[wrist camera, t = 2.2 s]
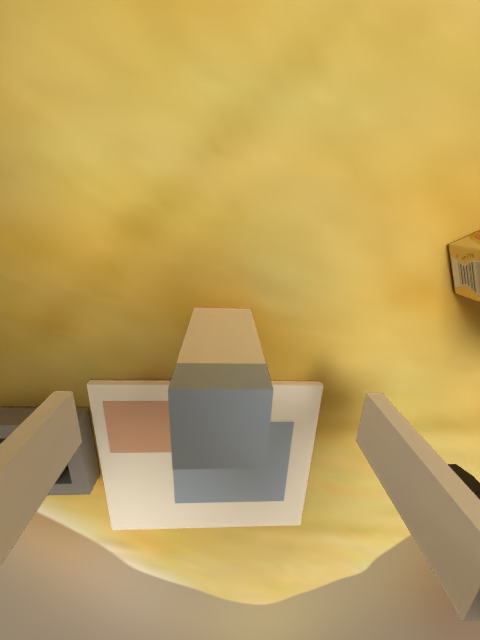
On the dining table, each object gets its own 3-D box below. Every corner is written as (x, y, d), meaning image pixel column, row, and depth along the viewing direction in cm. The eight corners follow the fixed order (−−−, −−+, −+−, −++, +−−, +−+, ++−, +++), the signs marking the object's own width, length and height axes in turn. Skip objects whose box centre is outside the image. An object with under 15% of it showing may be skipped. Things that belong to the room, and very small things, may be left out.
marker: (194, 307, 20) (167, 389, 10) (250, 308, 20) (273, 389, 11) (195, 357, 21) (172, 469, 12) (247, 358, 22) (266, 468, 12)
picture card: (90, 380, 21) (85, 385, 21) (321, 381, 23) (323, 386, 22) (114, 523, 27) (111, 531, 26) (298, 518, 28) (300, 526, 27)
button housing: (-5, 407, 22) (-27, 425, 20) (88, 407, 22) (75, 424, 20) (16, 474, 24) (-1, 496, 22) (100, 473, 25) (89, 494, 23)
